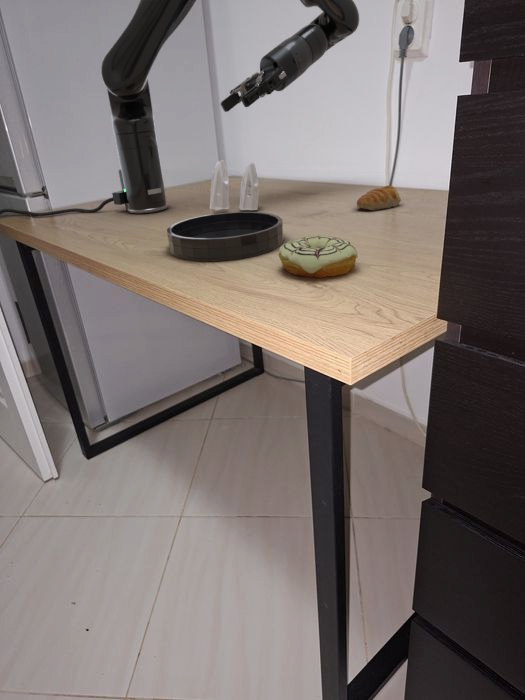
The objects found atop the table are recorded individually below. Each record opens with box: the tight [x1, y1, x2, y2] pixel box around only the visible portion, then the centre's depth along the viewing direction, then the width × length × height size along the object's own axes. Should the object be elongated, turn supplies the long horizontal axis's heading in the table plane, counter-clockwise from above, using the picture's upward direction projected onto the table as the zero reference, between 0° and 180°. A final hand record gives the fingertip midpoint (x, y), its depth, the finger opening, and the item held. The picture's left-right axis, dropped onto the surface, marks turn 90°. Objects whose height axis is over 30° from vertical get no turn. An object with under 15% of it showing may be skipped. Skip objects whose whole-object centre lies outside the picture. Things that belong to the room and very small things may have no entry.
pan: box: [166, 211, 284, 262], centre depth 85 cm, size 19×19×4 cm
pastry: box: [356, 185, 402, 211], centre depth 103 cm, size 9×7×4 cm
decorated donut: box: [278, 235, 359, 279], centre depth 69 cm, size 10×11×4 cm
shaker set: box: [209, 159, 260, 214], centre depth 107 cm, size 12×4×11 cm, turn 112°
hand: (233, 105), depth 103 cm, fingers open, 8 cm apart
